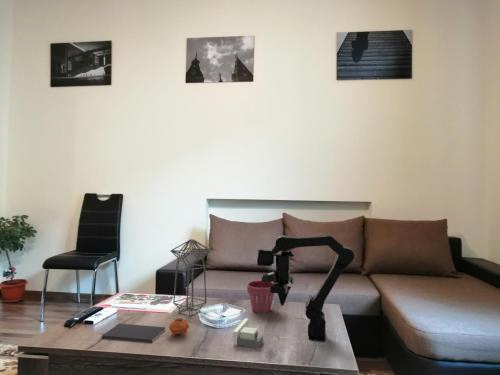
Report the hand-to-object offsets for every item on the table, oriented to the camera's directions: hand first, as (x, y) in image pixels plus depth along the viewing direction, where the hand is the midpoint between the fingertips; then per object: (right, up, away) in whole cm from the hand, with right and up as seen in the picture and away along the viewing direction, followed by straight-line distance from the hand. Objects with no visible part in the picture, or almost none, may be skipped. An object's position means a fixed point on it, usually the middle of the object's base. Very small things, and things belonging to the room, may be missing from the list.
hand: (282, 305), depth 139 cm
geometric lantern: (-42, -12, +27) cm, 51 cm away
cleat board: (-13, -12, -4) cm, 18 cm away
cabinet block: (-14, -12, -8) cm, 20 cm away
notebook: (-60, -12, 0) cm, 61 cm away
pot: (-42, -12, -1) cm, 44 cm away
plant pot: (-8, -13, +29) cm, 33 cm away
